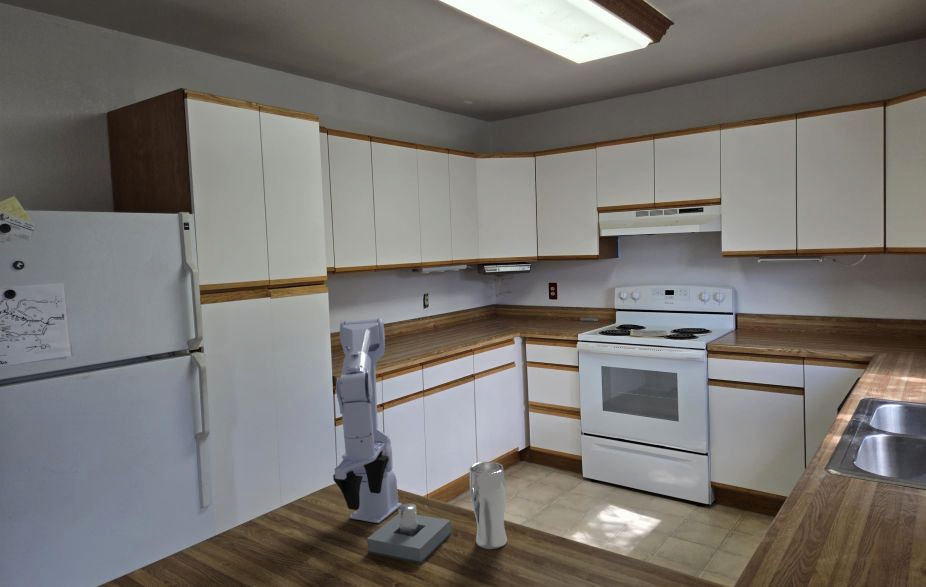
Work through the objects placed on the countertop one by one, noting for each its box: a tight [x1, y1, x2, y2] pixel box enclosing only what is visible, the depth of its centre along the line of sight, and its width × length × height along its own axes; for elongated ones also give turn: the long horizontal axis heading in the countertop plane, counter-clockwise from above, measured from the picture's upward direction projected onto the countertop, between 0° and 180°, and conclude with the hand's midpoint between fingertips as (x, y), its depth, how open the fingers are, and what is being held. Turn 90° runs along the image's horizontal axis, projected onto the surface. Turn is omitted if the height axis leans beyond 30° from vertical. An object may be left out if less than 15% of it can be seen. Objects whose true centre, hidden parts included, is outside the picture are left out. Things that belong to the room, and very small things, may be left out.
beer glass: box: [469, 461, 508, 550], centre depth 122 cm, size 7×7×15 cm
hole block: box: [366, 513, 452, 565], centre depth 124 cm, size 12×12×3 cm
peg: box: [397, 502, 418, 537], centre depth 124 cm, size 4×4×7 cm
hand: (364, 500), depth 124 cm, fingers open, 7 cm apart
